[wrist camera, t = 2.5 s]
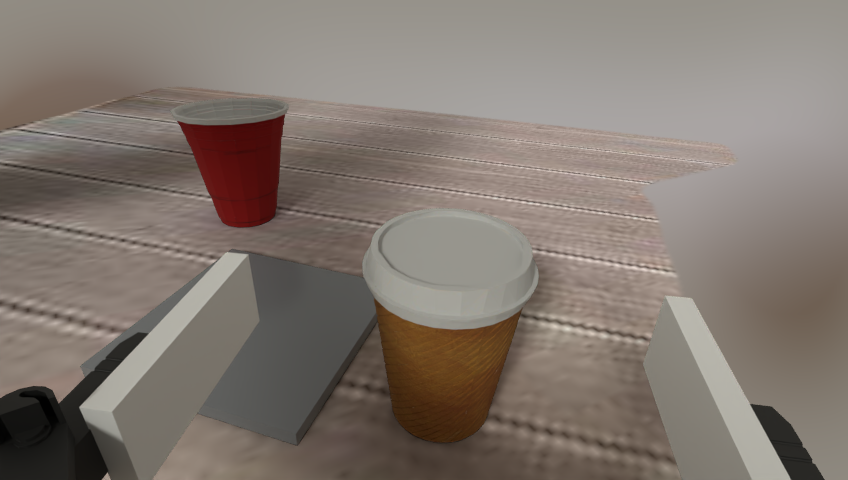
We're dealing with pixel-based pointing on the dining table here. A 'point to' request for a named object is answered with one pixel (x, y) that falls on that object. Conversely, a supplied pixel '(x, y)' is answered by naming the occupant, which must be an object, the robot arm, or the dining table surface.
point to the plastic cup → (237, 154)
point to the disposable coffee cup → (447, 313)
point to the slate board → (282, 346)
